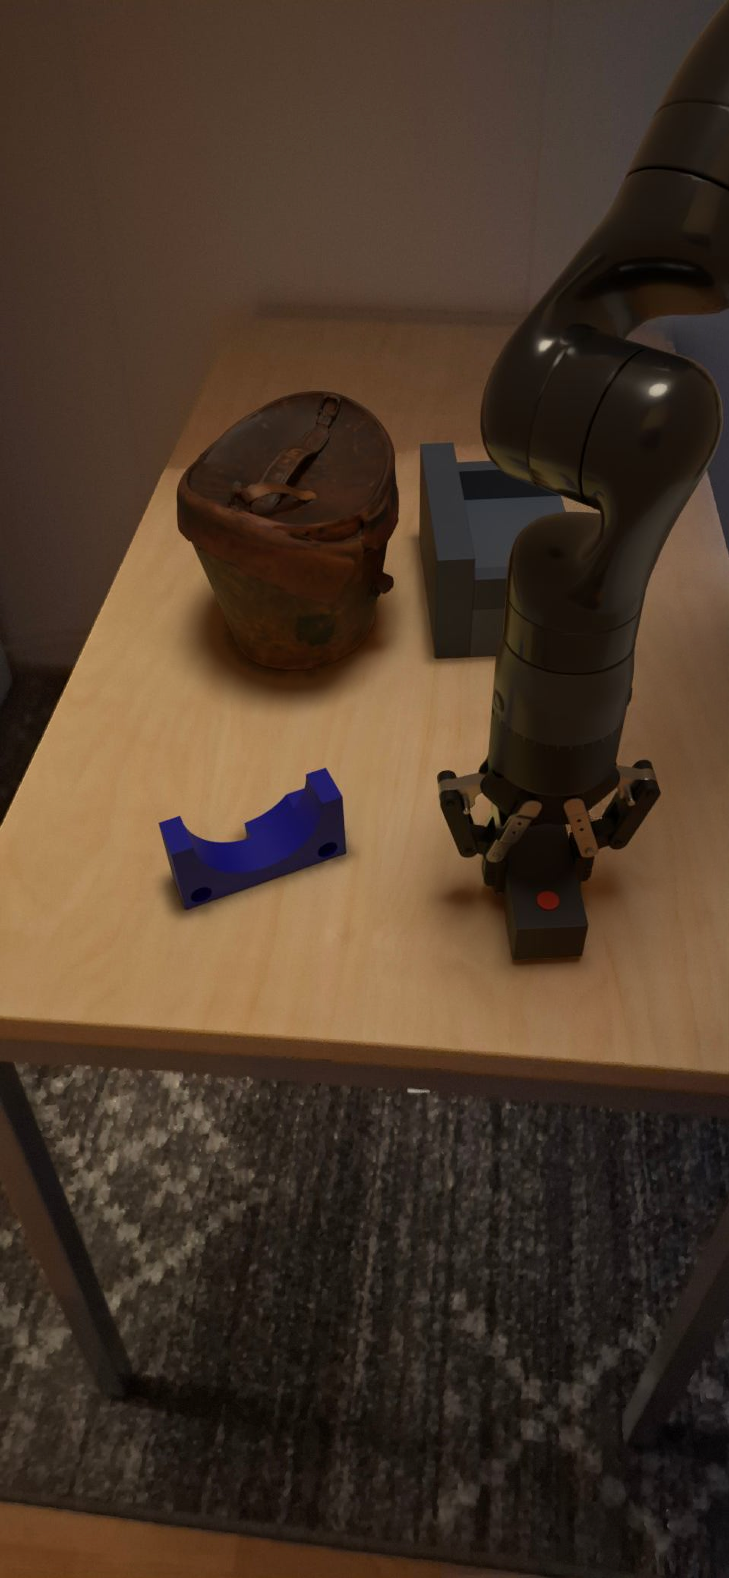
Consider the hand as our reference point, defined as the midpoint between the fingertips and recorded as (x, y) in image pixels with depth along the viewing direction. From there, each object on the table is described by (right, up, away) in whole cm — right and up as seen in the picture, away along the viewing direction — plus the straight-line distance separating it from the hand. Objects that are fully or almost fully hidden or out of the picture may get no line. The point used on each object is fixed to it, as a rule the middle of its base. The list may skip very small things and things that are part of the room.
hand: (534, 880), depth 71 cm
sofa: (+1, +24, +24) cm, 34 cm away
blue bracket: (-19, +1, +4) cm, 20 cm away
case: (-17, +20, +21) cm, 34 cm away
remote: (0, 0, 0) cm, 1 cm away
